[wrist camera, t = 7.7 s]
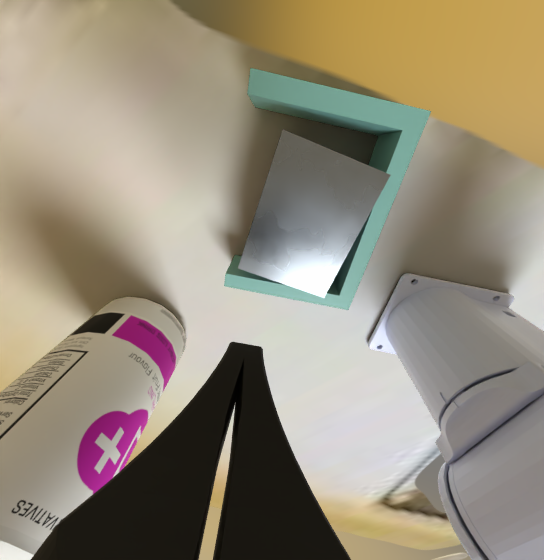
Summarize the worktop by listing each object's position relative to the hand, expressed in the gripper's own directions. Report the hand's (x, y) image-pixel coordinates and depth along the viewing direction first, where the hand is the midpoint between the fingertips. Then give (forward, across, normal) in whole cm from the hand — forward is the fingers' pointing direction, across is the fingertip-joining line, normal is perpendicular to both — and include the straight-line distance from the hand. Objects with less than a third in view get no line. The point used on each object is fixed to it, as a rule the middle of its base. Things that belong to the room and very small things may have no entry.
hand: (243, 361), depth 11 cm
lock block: (+11, -2, -5) cm, 12 cm away
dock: (+10, -2, -6) cm, 12 cm away
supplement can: (+11, +10, +9) cm, 17 cm away
